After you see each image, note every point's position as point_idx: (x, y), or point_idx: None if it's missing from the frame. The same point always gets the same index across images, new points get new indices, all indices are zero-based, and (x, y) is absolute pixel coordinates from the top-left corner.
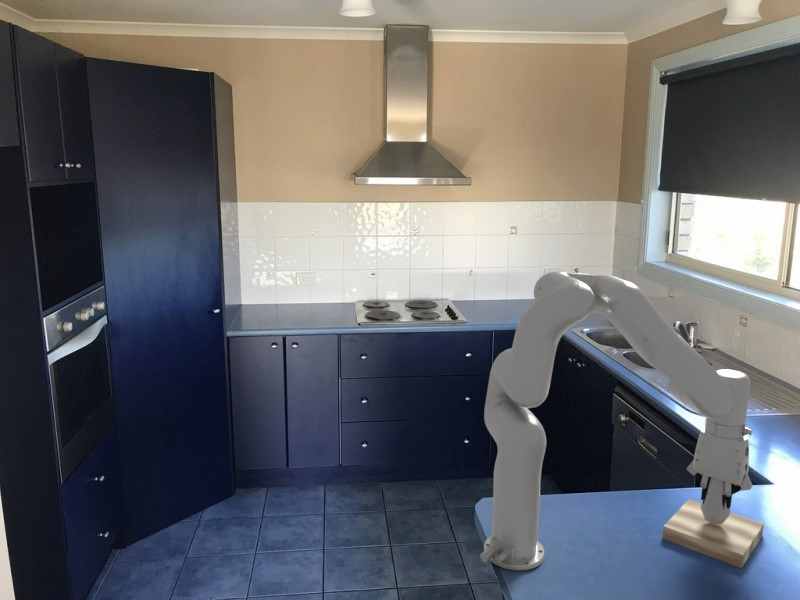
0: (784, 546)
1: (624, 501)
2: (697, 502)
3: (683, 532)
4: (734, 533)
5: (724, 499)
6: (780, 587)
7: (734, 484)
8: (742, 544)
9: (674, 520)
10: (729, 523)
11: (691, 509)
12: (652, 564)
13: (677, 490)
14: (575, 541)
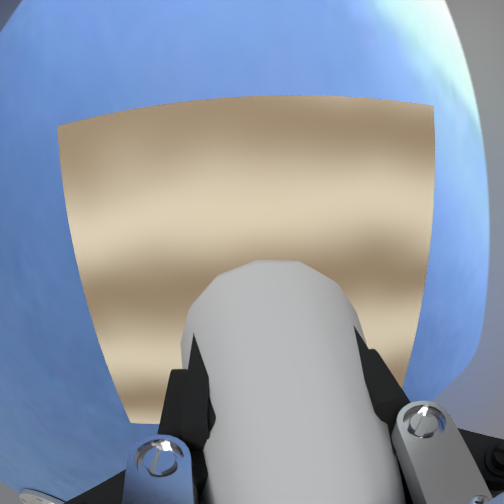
0: (464, 138)
1: None
2: (100, 127)
3: None
4: (358, 297)
5: None
6: (458, 361)
7: (467, 471)
8: (394, 347)
9: (127, 374)
10: (317, 223)
11: (113, 230)
12: None
13: (13, 21)
14: (61, 474)
